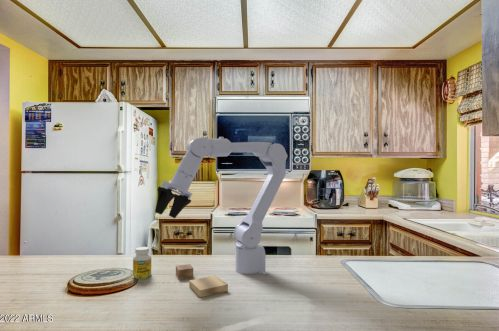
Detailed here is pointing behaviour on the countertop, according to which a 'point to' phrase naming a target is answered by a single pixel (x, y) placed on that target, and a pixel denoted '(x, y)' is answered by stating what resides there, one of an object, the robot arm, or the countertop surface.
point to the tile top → (208, 286)
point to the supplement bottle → (142, 263)
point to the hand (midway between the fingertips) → (165, 215)
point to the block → (184, 271)
